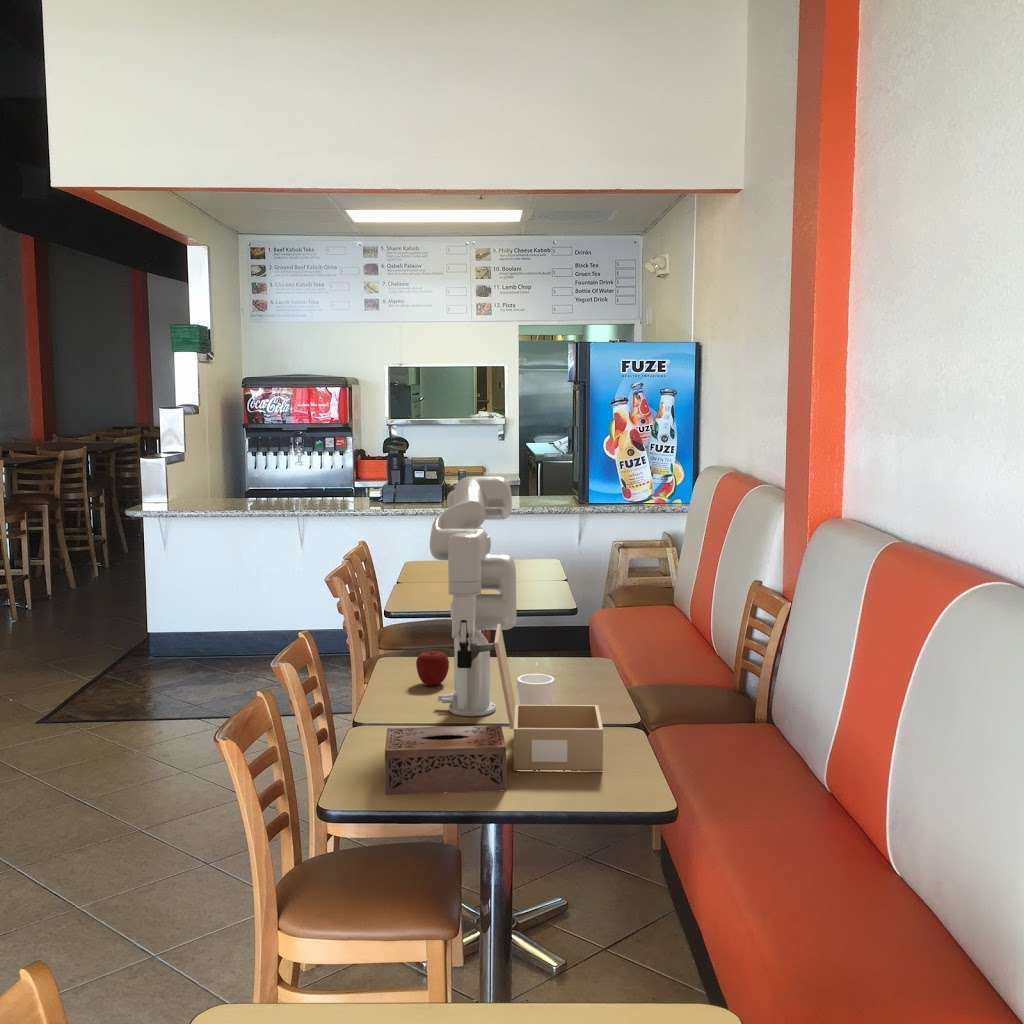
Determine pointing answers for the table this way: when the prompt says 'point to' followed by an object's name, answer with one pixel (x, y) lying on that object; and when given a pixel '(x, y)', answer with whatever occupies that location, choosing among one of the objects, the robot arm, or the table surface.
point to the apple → (432, 667)
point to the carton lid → (503, 669)
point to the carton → (558, 738)
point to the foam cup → (535, 689)
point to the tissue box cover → (445, 759)
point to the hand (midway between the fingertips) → (465, 664)
